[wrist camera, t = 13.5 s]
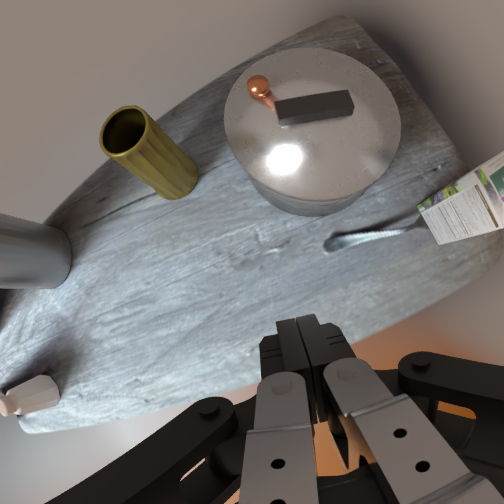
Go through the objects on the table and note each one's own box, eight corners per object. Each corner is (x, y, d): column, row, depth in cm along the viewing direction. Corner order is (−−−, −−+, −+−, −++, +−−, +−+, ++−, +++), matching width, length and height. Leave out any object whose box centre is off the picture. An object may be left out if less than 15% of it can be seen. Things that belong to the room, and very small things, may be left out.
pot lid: (243, 219, 29) (238, 213, 26) (214, 72, 31) (208, 56, 28) (420, 184, 27) (431, 175, 24) (364, 47, 29) (367, 31, 26)
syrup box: (446, 186, 35) (506, 143, 21) (468, 226, 34) (537, 200, 20) (415, 206, 36) (471, 167, 21) (438, 248, 35) (505, 229, 20)
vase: (175, 146, 40) (126, 91, 26) (208, 172, 39) (166, 118, 25) (145, 182, 40) (84, 141, 26) (176, 209, 39) (119, 174, 25)
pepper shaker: (50, 369, 40) (0, 383, 29) (65, 401, 39) (18, 422, 28) (32, 379, 40) (-15, 393, 29) (47, 409, 39) (1, 428, 29)
